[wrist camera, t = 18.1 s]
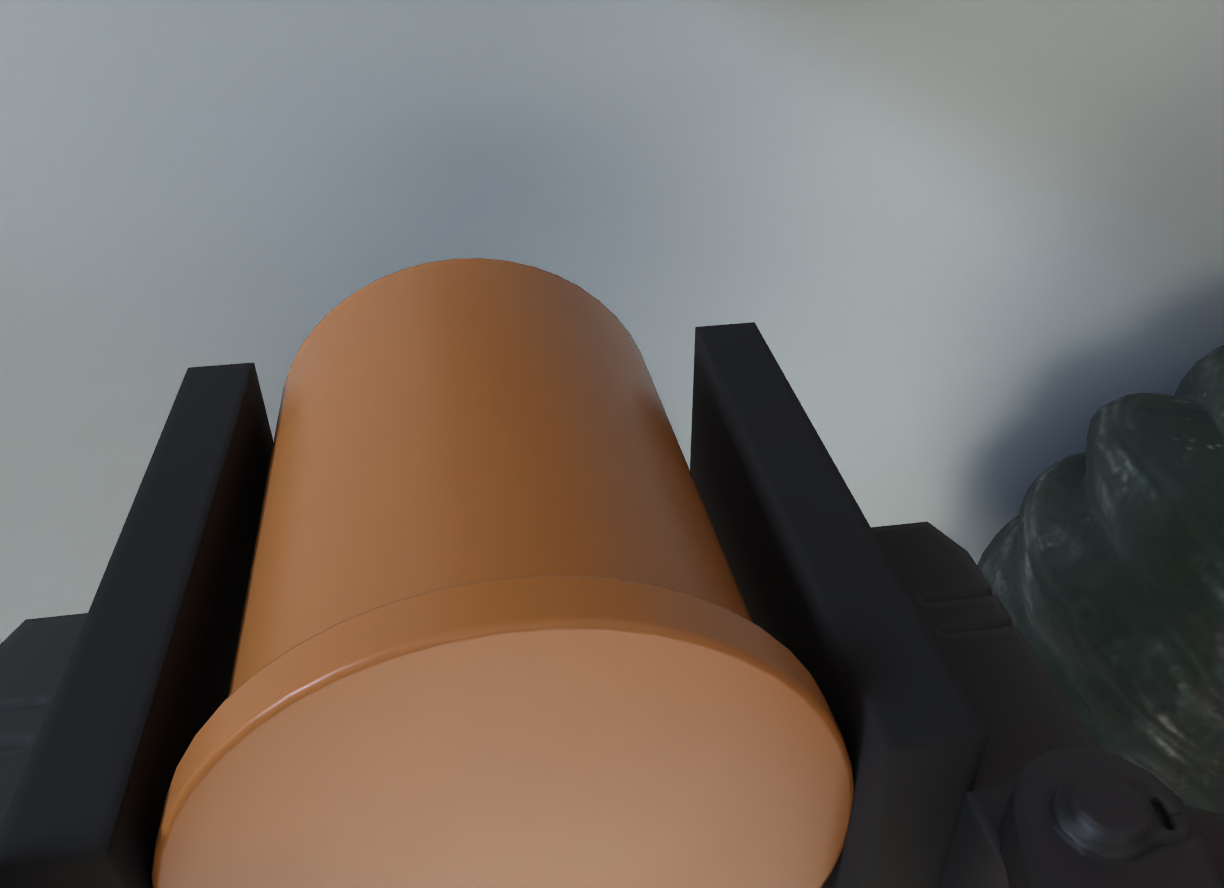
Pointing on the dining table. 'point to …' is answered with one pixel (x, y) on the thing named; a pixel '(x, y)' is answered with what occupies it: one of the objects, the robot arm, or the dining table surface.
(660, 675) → the orange tapered cylinder
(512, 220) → the dining table surface
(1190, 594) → the squash
